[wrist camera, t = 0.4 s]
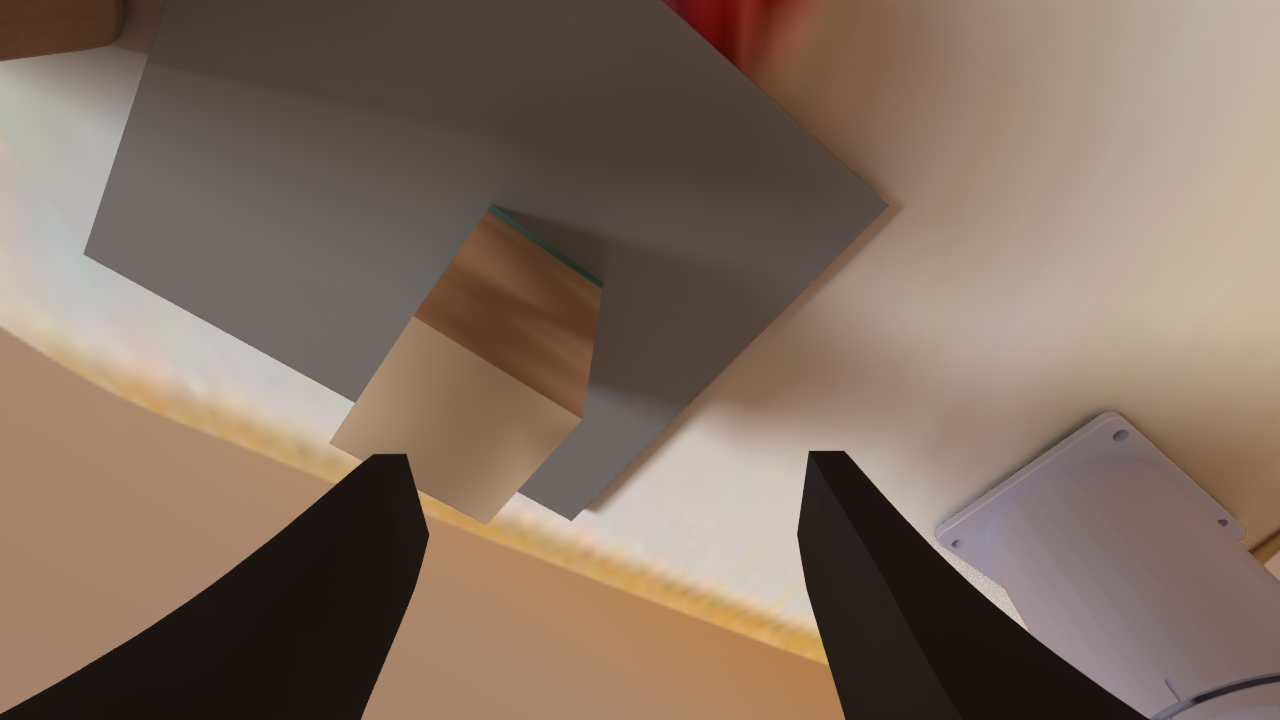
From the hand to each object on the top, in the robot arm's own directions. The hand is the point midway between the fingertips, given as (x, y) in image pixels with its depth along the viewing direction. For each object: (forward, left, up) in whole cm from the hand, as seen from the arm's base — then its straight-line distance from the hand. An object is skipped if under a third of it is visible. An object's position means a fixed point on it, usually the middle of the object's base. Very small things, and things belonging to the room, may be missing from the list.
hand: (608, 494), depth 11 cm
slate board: (+5, +1, -10) cm, 11 cm away
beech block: (+3, +2, -9) cm, 10 cm away
